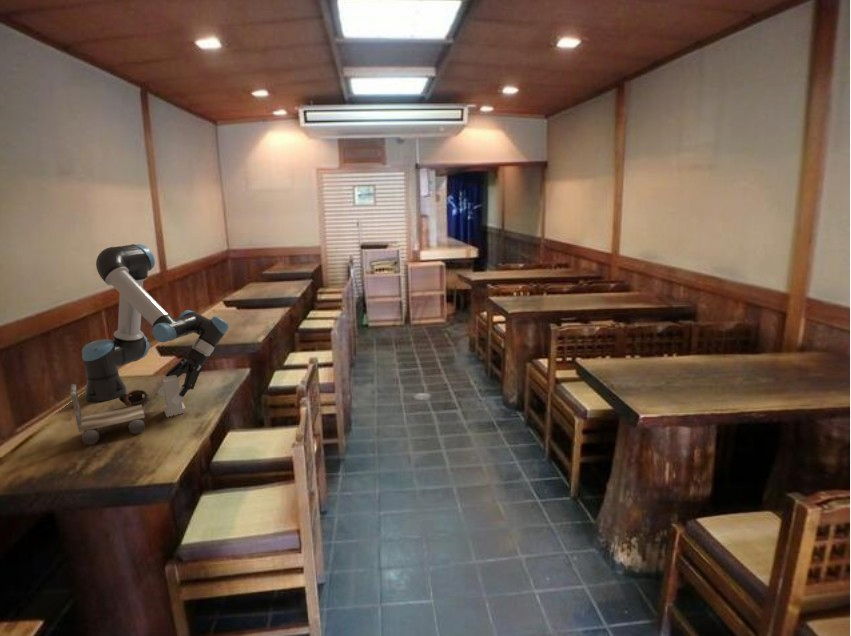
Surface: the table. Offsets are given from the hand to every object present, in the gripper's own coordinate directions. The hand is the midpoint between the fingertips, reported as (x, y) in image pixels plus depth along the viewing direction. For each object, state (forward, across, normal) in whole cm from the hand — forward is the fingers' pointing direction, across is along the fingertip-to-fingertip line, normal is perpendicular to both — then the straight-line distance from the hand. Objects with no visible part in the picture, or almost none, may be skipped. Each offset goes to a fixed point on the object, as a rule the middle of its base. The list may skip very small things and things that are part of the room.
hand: (166, 398), depth 202 cm
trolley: (+18, -1, +10) cm, 21 cm away
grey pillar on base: (+3, 0, -6) cm, 7 cm away
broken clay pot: (+9, +18, 0) cm, 20 cm away
